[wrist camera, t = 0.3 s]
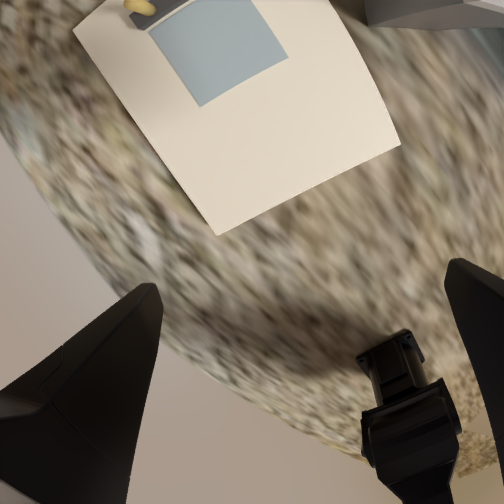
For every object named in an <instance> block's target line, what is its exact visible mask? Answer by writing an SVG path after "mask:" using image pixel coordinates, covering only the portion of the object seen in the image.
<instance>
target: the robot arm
mask: <svg viewBox="0 0 504 504" xmlns="http://www.w3.org/2000/svg"><path fill="white" fill-rule="evenodd" d="M444 287H445V291H446V294H447V297H448V300H449V303H450V306H451V309H452V312H453V315H454V318H455V322H456V325H457V328H458V330H459V333H460V335H461V338H462V340H463V343H464V346H465V348H466V351H467V353H468V356H469V359H470V361H471V364H472V367H473V370H474V373H475V375H476V378H477V381H478V384H479V387H480V390H481V394H482V397H483V400H484V403H485V407H486V410H487V413H488V417H489V421H490V424H491V428H492V432H493V436H494V440H495V441H496V442H495V445H496V449H497V454H498V458H499V463H500V468H501V473H502V478H503V484H504V280H503V279H501V278H499V277H498V276H496V275H494V274H492V273H490V272H488V271H486V270H485V269H483V268H481V267H479V266H477V265H475V264H473V263H471V262H469V261H467V260H465V259H463V258H454V259H451V260H450V261H449V264H448V268H447V272H446V276H445V280H444ZM162 317H163V303H162V300H161V297H160V294H159V291H158V288H157V286H156V284H155V283H142V284H140V285H139V286H137V287H136V288H135V289H133V290H132V291H131V292H130V293H128V294H127V295H126V296H124V297H123V298H122V299H120V300H119V301H118V302H116V303H115V304H114V305H113V306H111V307H110V308H109V309H107V310H106V311H105V312H103V313H102V314H101V315H100V316H98V317H97V318H96V319H94V320H93V321H92V322H91V323H89V324H88V325H87V326H85V327H84V328H83V329H82V330H80V331H79V332H78V333H77V334H75V335H74V336H73V337H71V338H70V339H69V340H68V341H66V342H65V343H64V344H63V345H62V346H60V347H59V348H58V349H56V350H55V351H54V352H53V353H51V354H50V355H49V356H48V357H46V358H45V359H44V360H42V361H41V362H40V363H38V364H37V365H36V366H34V367H33V368H31V369H30V370H29V371H27V372H26V373H25V374H23V375H22V376H20V377H19V378H17V379H16V380H14V381H13V382H12V383H10V384H9V385H7V386H6V387H5V388H3V389H2V390H0V504H126V499H127V493H128V487H129V482H130V475H131V470H132V464H133V459H134V454H135V449H136V443H137V439H138V435H139V430H140V425H141V421H142V416H143V412H144V407H145V403H146V398H147V394H148V390H149V386H150V381H151V377H152V373H153V369H154V365H155V361H156V357H157V352H158V346H159V338H160V331H161V324H162ZM356 361H357V363H358V365H359V366H360V367H361V368H362V369H363V371H364V372H365V373H366V374H367V376H368V377H369V378H370V379H371V382H372V386H373V390H374V395H375V399H376V403H377V407H376V408H373V409H370V410H368V411H367V410H365V411H362V419H361V420H360V421H361V428H362V447H361V454H362V456H363V457H365V458H367V460H368V461H369V464H370V465H371V467H372V468H376V472H377V476H378V479H379V480H380V481H381V482H382V483H383V484H384V485H385V486H387V488H389V489H390V490H391V491H392V492H393V493H394V494H395V495H396V496H397V497H398V498H399V499H401V500H402V503H403V504H454V502H453V498H452V493H451V489H450V483H451V480H452V477H453V474H454V471H455V468H456V464H457V461H458V457H459V443H458V440H457V436H456V435H459V434H461V433H462V428H461V424H460V420H459V417H458V414H457V411H456V408H455V405H454V403H453V401H452V398H451V396H450V394H449V391H448V389H447V387H446V385H445V382H444V380H443V378H440V379H438V381H436V382H434V383H431V384H429V382H428V379H427V376H426V374H425V371H424V369H423V366H422V363H423V362H424V361H425V359H424V356H423V354H422V352H421V350H420V348H419V346H418V344H417V342H416V340H415V338H414V336H413V334H412V332H411V331H407V332H405V333H403V334H401V335H399V336H397V337H396V338H394V339H392V340H390V341H388V342H386V343H384V344H382V345H380V346H378V347H376V348H374V349H372V350H370V351H368V352H366V353H364V354H362V355H360V356H358V357H357V358H356Z"/></svg>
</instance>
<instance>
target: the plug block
mask: <svg viewBox="0 0 504 504" xmlns="http://www.w3.org/2000/svg"><path fill="white" fill-rule="evenodd" d="M363 3H364V8H365V14H366V19H367V24H368V27H393V28H409V29H420V30H430V31H439V30H451V29H467V28H504V0H363Z"/></svg>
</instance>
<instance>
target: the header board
mask: <svg viewBox="0 0 504 504" xmlns="http://www.w3.org/2000/svg"><path fill="white" fill-rule="evenodd" d="M72 31H73V32H74V34H75V35H76V36H77V38H78V39H79V41H80V42H81V44H82V45H83V47H84V48H85V50H86V51H87V53H88V54H89V56H90V57H91V59H92V60H93V62H94V63H95V64H96V66H97V67H98V69H99V70H100V72H101V73H102V75H103V76H104V78H105V79H106V80H107V82H108V83H109V85H110V86H111V88H112V89H113V91H114V92H115V94H116V95H117V96H118V98H119V99H120V101H121V102H122V104H123V105H124V106H125V108H126V109H127V111H128V112H129V114H130V115H131V116H132V118H133V119H134V121H135V122H136V124H137V125H138V126H139V128H140V129H141V131H142V132H143V134H144V135H145V136H146V138H147V139H148V141H149V142H150V143H151V145H152V146H153V148H154V149H155V150H156V152H157V153H158V155H159V156H160V158H161V159H162V160H163V162H164V163H165V165H166V166H167V167H168V169H169V170H170V172H171V173H172V174H173V176H174V177H175V179H176V180H177V181H178V183H179V184H180V185H181V187H182V188H183V190H184V191H185V192H186V194H187V195H188V197H189V198H190V199H191V201H192V202H193V203H194V205H195V206H196V208H197V209H198V210H199V212H200V213H201V215H202V216H203V217H204V219H205V220H206V221H207V223H208V224H209V226H210V227H211V228H212V230H213V231H214V232H215V234H216V235H217V236H219V235H220V234H222V233H224V232H226V231H228V230H230V229H232V228H234V227H236V226H238V225H239V224H241V223H243V222H245V221H247V220H249V219H251V218H253V217H255V216H257V215H259V214H261V213H263V212H265V211H267V210H268V209H270V208H272V207H274V206H276V205H278V204H280V203H282V202H284V201H286V200H288V199H290V198H292V197H294V196H296V195H298V194H300V193H302V192H304V191H306V190H308V189H310V188H312V187H314V186H316V185H318V184H320V183H322V182H324V181H326V180H328V179H330V178H332V177H334V176H336V175H338V174H340V173H342V172H344V171H346V170H348V169H350V168H353V167H355V166H357V165H359V164H361V163H363V162H365V161H367V160H369V159H371V158H373V157H375V156H377V155H380V154H382V153H384V152H386V151H388V150H390V149H392V148H394V147H396V146H398V145H401V143H400V140H399V138H398V135H397V133H396V130H395V128H394V125H393V123H392V120H391V118H390V116H389V113H388V111H387V109H386V106H385V104H384V102H383V100H382V98H381V95H380V93H379V91H378V89H377V87H376V85H375V83H374V81H373V78H372V76H371V74H370V72H369V70H368V68H367V66H366V64H365V63H364V61H363V59H362V57H361V55H360V53H359V51H358V49H357V47H356V46H355V44H354V42H353V40H352V38H351V37H350V35H349V33H348V31H347V30H346V28H345V26H344V25H343V23H342V21H341V20H340V18H339V16H338V15H337V13H336V11H335V10H334V8H333V7H332V5H331V4H330V2H329V0H106V1H105V2H104V3H102V4H101V5H100V6H99V7H98V8H97V9H95V10H94V11H93V12H92V13H91V14H90V15H88V16H87V17H86V18H85V19H84V20H83V21H82V22H81V23H80V24H79V25H78V26H76V27H75V28H74V29H73V30H72Z"/></svg>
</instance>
